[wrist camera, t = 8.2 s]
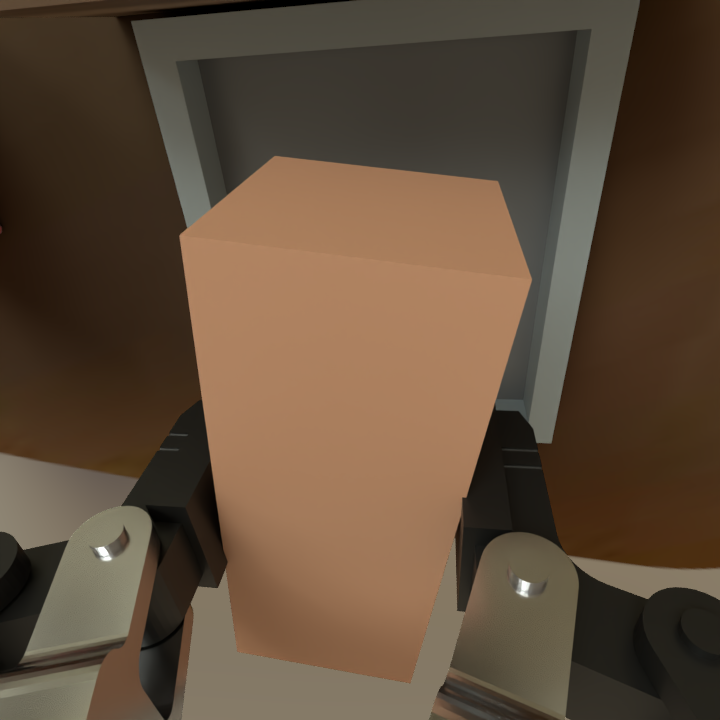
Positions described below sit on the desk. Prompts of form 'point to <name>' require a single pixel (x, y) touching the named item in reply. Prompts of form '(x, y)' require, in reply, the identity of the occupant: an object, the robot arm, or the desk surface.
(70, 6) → the board
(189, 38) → the tray
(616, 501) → the desk surface
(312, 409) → the bar
